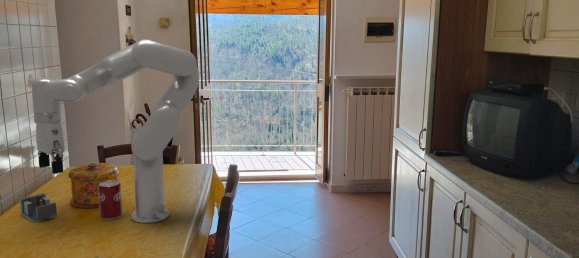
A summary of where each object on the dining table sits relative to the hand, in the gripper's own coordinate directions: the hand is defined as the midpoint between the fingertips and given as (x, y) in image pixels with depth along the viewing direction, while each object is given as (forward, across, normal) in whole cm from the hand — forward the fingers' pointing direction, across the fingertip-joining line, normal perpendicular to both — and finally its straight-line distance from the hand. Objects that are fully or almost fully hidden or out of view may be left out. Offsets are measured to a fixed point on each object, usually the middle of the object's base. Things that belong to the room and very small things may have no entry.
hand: (51, 169), depth 147 cm
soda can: (+19, -7, -16) cm, 26 cm away
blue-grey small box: (+17, +8, 0) cm, 19 cm away
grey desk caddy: (+19, +11, 0) cm, 22 cm away
